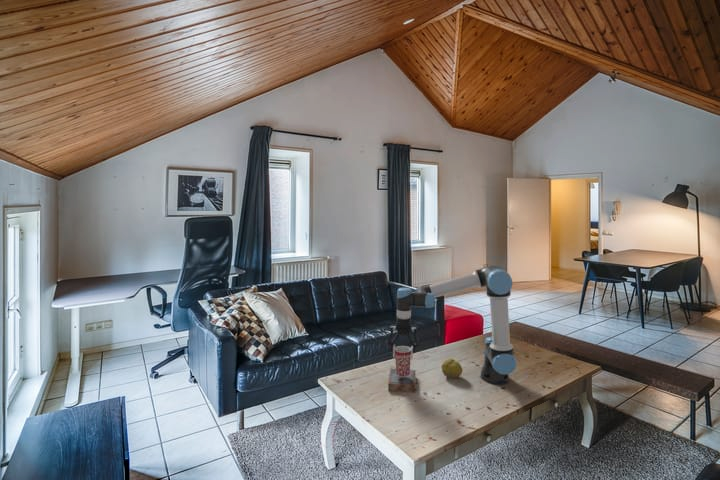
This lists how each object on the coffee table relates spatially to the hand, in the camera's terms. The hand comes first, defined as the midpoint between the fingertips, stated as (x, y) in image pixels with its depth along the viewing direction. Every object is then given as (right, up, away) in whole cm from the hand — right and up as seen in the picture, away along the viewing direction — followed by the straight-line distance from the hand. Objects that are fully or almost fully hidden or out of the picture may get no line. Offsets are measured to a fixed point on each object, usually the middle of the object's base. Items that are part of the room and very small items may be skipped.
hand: (402, 357), depth 207 cm
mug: (0, -8, +1) cm, 8 cm away
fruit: (+28, -14, +10) cm, 33 cm away
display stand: (0, -14, +2) cm, 15 cm away
